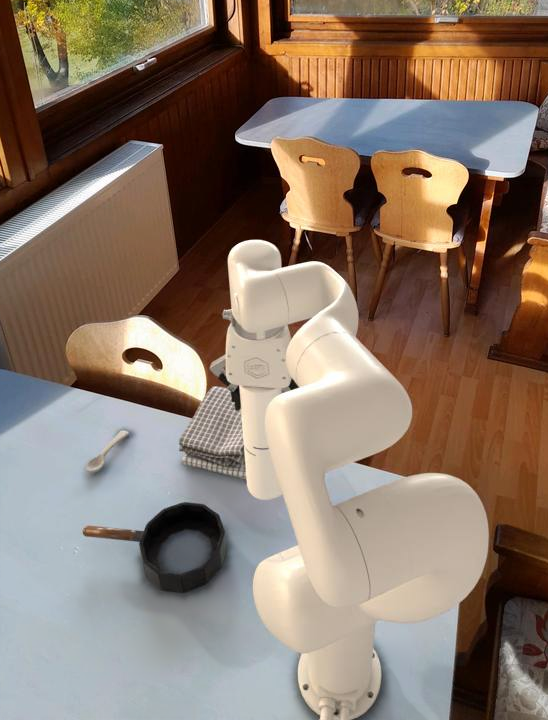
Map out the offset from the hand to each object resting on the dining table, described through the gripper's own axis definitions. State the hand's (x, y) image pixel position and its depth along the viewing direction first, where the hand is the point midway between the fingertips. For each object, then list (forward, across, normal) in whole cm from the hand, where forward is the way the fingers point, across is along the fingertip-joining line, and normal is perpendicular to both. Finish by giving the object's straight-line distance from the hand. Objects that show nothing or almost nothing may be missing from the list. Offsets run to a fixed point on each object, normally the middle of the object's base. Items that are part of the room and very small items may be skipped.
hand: (263, 405), depth 108 cm
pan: (+30, -19, -8) cm, 36 cm away
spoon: (+30, -36, +12) cm, 48 cm away
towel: (+30, -12, +18) cm, 37 cm away
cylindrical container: (+19, 0, 0) cm, 19 cm away
